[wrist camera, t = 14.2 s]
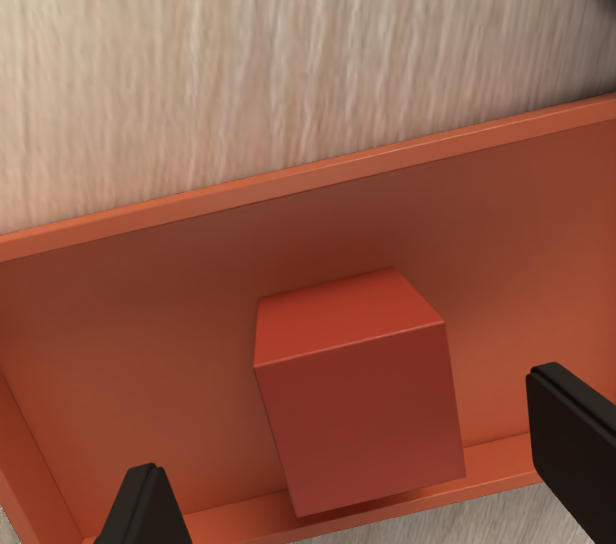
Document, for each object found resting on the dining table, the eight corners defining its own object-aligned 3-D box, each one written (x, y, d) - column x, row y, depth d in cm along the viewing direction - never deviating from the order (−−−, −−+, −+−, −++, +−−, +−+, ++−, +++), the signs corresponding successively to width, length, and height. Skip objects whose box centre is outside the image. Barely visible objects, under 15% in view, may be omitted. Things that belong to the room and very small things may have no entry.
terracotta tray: (80, 539, 19) (51, 600, 17) (-63, 249, 15) (-129, 272, 13) (648, 404, 19) (704, 444, 17) (653, 82, 15) (727, 71, 13)
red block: (290, 414, 17) (296, 519, 13) (257, 297, 16) (251, 366, 11) (414, 384, 17) (468, 478, 13) (394, 265, 16) (446, 320, 11)
